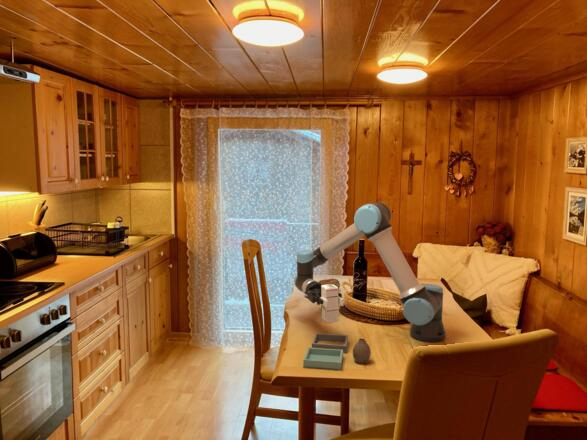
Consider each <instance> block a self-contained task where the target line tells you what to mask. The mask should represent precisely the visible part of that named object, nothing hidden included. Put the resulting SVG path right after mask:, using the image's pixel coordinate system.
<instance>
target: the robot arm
mask: <svg viewBox="0 0 587 440" xmlns="http://www.w3.org/2000/svg"><path fill="white" fill-rule="evenodd" d="M391 220H392V211H391V209H390V208H389V206H388V205H387V204H385V203H383V202H381V201H380V202H379V201H377V202H372V203H366V204H364V205H362V206H360V207H359V208H358V209H357V210H356V211H355V214H354V217H353V223H352V224H350V225H349V226H347V227H346V228H344V229H343V230H342V231H340V232H339V233H338V234H336V235H335V236H333V237H332V238H330V239H329V240H328V241H326V242H325V243H323V244H322V245H320V246H319V247H318V248H316V249H314V250H311V249H301V250H298V251H297V254H296V276H295V278H294V280H293V282H294V286H295V287H296V288H297V290H298V291H300V292H302V293H303V294H304V298H305V299H308V301H310V302H311V303H312V304H315V303H316V305H317V306H320V305H321V304H322V305H323V306H325V307H326V308H328V301H327V300H326V299H324V298H323V297H321V284H320V283H318V282H319V281H317V280H315V279H314V269H315V268H317V267H319V266H322V265H324V264H326V263H327V262H328V261H329V260H331V259H332V258H333V257H335V256H336V255H338V254H339V253H341V252H342V251H344V250H345V249H347V248H349V247H350V246H351V245H353V244H354V243H356V242H358V241H359V240H360V239H362V238H363V237H365V238H366V240H367V241H369V242H372V244H373V245H374V247H375V249H376V251H377V252H378V254H379V256H380V259H382V262H383V264H384V265H385V267H386V269H387V271H388V272H389V275H390V276H391V278H392V280H393V282H394V283H395V284H394V285H396V287H397V290H398V291H399V297H398V299H399V301H400V303H401V305H402V314H403V316H404V318H405V320H406V321H408V322H409V323H410V324H411V327H410V329H409V335H410V337H411V338H413V339H415V340H417V341H420V342H425V343H437V342H438V343H439V342H443V341H444V340H445V339H446V338H447V337H446V335H447V334H446V329H445V326H444V323H443V307H444V306H443V305H444V304H443V303H444V288H443V287H442V286H441V285H438V284H432V283H420V282H419V280H418V279H417V277H416V276H415V274H414V271H413V270H412V268H411V266H410V264H409V263H408V260H407V258H405V255H404V254H403V252H402V250H401V247H399V244H398V243H397V240H396V239H395V237H394V236H393V234H392V229H393V226H392V224H391V222H390V221H391ZM338 305H340V306H341V307H344V306H345V304H344V298H343V294H342V292H341V293H340V292H339V291H338Z"/></svg>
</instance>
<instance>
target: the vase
mask: <svg viewBox="0 0 587 440" xmlns="http://www.w3.org/2000/svg"><path fill="white" fill-rule="evenodd" d="M371 353H372V351H371V347H370V345H369V344H368V343H367V341H366V339H365V338H359V339H358V341H357V342H355V344H354V346H353V348H352V358H353V360H354V361H355V362H356V363H358V364H366V363H368V362H369V361H370V358H371Z"/></svg>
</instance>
